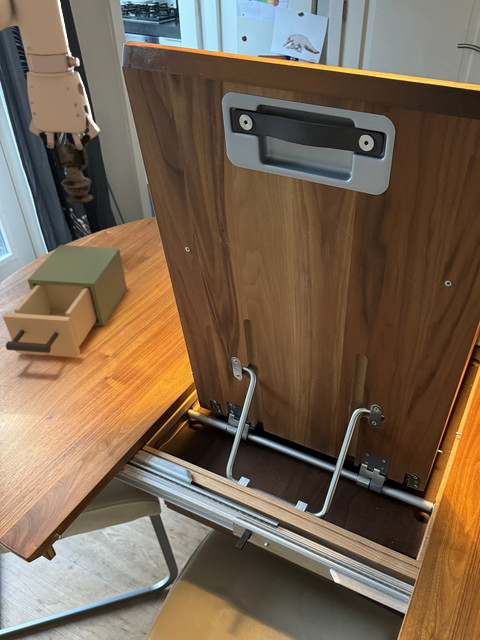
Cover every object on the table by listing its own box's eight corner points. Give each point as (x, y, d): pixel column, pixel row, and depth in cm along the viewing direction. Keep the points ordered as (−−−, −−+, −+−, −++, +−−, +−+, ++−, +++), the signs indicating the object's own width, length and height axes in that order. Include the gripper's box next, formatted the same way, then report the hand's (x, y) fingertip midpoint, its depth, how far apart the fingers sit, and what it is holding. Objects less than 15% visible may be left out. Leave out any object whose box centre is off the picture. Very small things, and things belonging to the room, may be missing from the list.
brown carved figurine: (93, 192, 112) (81, 133, 104) (95, 202, 108) (83, 142, 100) (64, 195, 110) (50, 135, 103) (65, 205, 106) (51, 144, 99)
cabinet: (103, 326, 101) (93, 283, 95) (41, 322, 102) (27, 279, 96) (127, 288, 113) (119, 248, 106) (70, 285, 113) (59, 244, 107)
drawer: (66, 374, 89) (55, 337, 84) (2, 369, 89) (-13, 332, 84) (104, 315, 103) (96, 281, 98) (48, 312, 103) (37, 277, 98)
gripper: (102, 62, 96) (118, 164, 108) (14, 58, 96) (40, 159, 108) (88, 69, 90) (107, 176, 102) (-5, 65, 91) (24, 171, 102)
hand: (72, 166), depth 105 cm, fingers closed on brown carved figurine, 3 cm apart
